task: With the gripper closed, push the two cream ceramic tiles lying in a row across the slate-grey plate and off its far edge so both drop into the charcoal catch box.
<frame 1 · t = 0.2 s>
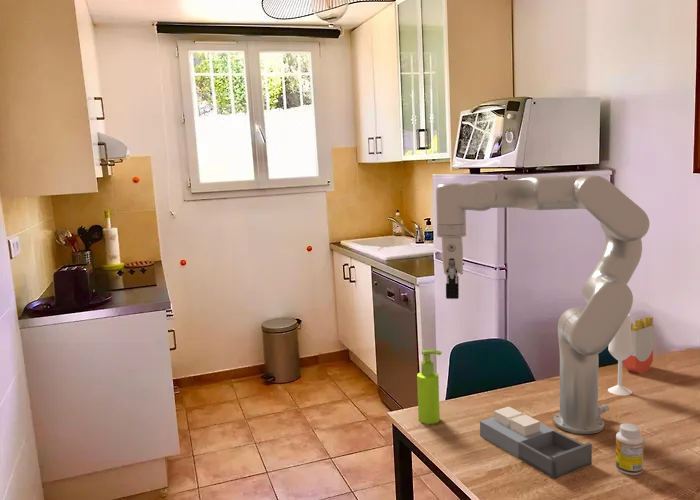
hand: (452, 294, 152), 36 cm above the table, tool pointing down, fingers open, 9 cm apart
rear tile: (508, 421, 148), point 4 cm above the table, touching slate plate
soap dispenser: (430, 420, 160), on the table
french fries container: (637, 370, 190), on the table
front tile: (525, 429, 143), point 4 cm above the table, touching slate plate
supplement bottle: (628, 470, 130), on the table
catch box: (554, 461, 135), on the table
champagne flute: (619, 391, 173), on the table
slate plate: (516, 440, 146), on the table
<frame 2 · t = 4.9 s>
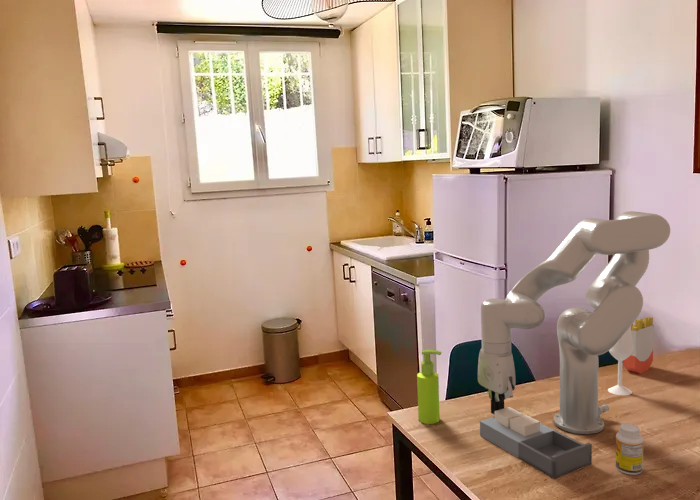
hand: (497, 413, 151), 5 cm above the table, tool pointing down, fingers closed
rear tile: (508, 421, 148), point 4 cm above the table, touching gripper, slate plate
everything else where it was.
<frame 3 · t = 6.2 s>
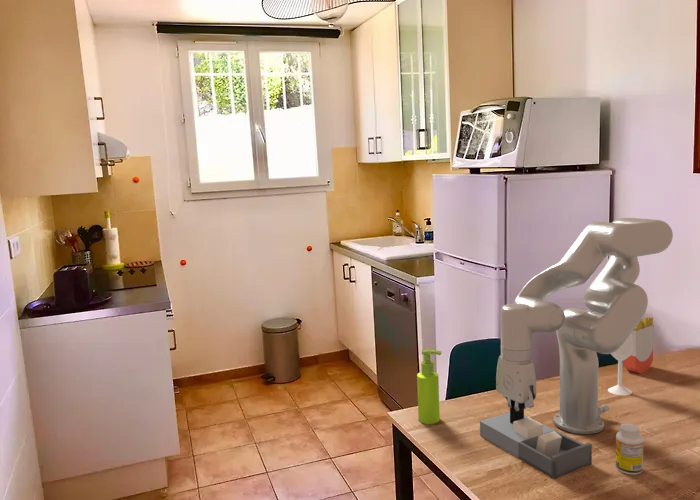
hand: (517, 423, 145), 5 cm above the table, tool pointing down, fingers closed
rear tile: (528, 432, 141), point 4 cm above the table, touching gripper
front tile: (544, 442, 137), point 4 cm above the table, tilted 102°, touching catch box
everything else where it was.
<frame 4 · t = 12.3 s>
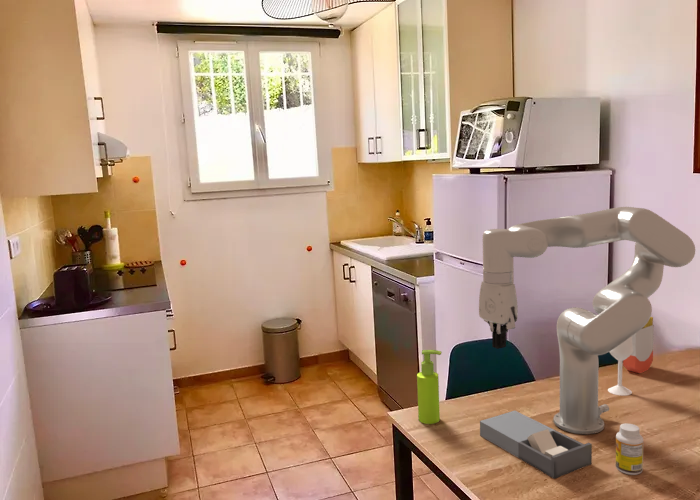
hand: (499, 347, 148), 23 cm above the table, tool pointing down, fingers closed
rear tile: (539, 445, 138), point 2 cm above the table, tilted 48°, touching catch box, slate plate
front tile: (560, 452, 132), point 3 cm above the table, tilted 180°, touching catch box
everything else where it was.
at the end: front tile inside the target area on the catch box (2.7 cm from its centre), point 3.1 cm above the catch box's base; rear tile inside the target area on the catch box (3.6 cm from its centre), point 2.4 cm above the catch box's base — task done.
